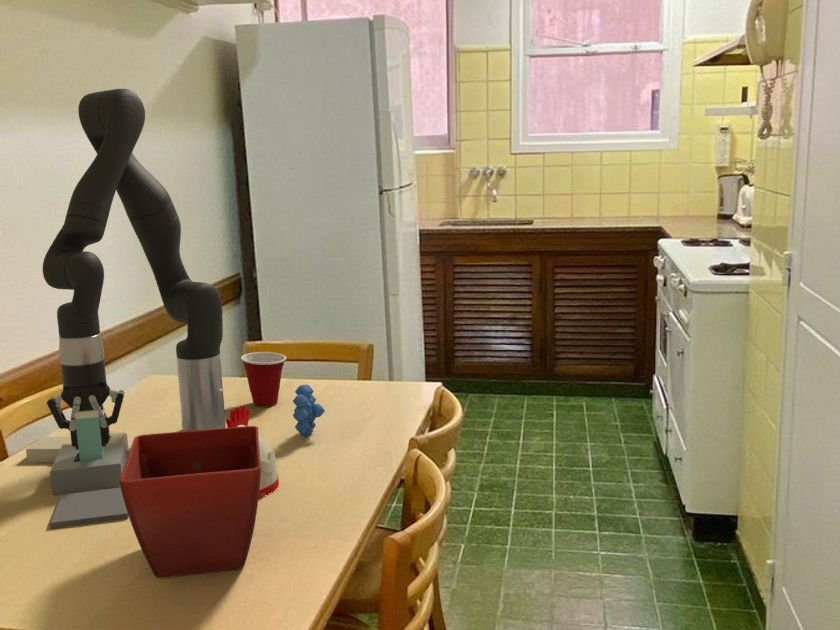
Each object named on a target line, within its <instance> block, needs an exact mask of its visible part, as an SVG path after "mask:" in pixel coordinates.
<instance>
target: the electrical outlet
mask: <svg viewBox="0 0 840 630" xmlns="http://www.w3.org/2000/svg"><path fill="white" fill-rule="evenodd" d="M109 433H110V440H109V443H107V444H113V443H122V442H126V452H127V451H128V450H129V442H128V441H129V439H128V433H126V432H109ZM65 448H74V447H73V446H72V443H71V436H43V437H41V438H39V439H38V440H37V441H36V442H34V443H33V444H31V445H30V446H29V447H26V449H25V453H26V461H27V463H54V462H55V460H56V457H57V455H58V453H59V451H60V449H65Z"/></svg>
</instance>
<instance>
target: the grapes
mask: <svg viewBox="0 0 840 630" xmlns="http://www.w3.org/2000/svg"><path fill="white" fill-rule="evenodd" d="M314 391H315V390H314V389H313V388H312V387H311V386H310V385H309V384H301V385H299V386H298V387H297V388H296V390H295V391H294V392H295V394H296V396H295V397H294V399H293V400H292V403H293V404H294V405H295V406H296V407H295V408H294V410H293V414H292V417H293V418H294V419H295V420H296V422H297V423H296V424H295V426H294V428H295V430H296V431H297V432H298V433H299V434H300V436H302V438H309V437H310V436H311V435H312V433H314V428H315V427H316V426H317V425H316V423H315V421H316V418H320V417H321V416H322V415H323V414H324V413H325V411H326V410H325V409H324V407H323V406H322V405H321V404H319V403H316V401H317V399H316V397H315V396H314V395H313V393H314Z"/></svg>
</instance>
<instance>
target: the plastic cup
mask: <svg viewBox="0 0 840 630" xmlns="http://www.w3.org/2000/svg"><path fill="white" fill-rule="evenodd" d="M240 359H241V361H242V363H243V366H244V371H245V372H246V373H245V374H246V377H247V384H248V387H249V391H250V395H251V399H252V403H253V405H254V406H255V407H259V408H260V407H262V408H263V407H264V408H265V407H266V408H267V407H270V406H271V407H272V406H275V405H277V404H278V402H279V401H278V400H279V392H280V389H281V388H280V387H281V381H282V379H281V378H282V372H283V371H282V370H283V367H284V365H285V362H286V361H287V356H286V355H284V354H281V353H277V352H270V351H257V352H256V351H255V352H250V353H245V354H243V355H241V358H240Z"/></svg>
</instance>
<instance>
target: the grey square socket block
mask: <svg viewBox="0 0 840 630" xmlns="http://www.w3.org/2000/svg"><path fill="white" fill-rule="evenodd" d="M104 448H105V452H104V455H103V458H102V459H99V460H89V461H80V458H79V449H76V447H74V448H65V449H60V451H59V453H58V455H57V457H56V460H55V462H53V464H52V466H51V469H50V470H49V474H50V482H51V490H52V496H53V495H62V494H70V493H79V492H88V491H96V490H105V489H113V488H121V487H120V482H119V478H120V476H121V473H122V471H123V468H124V466H125V463H126V460H127V458H128V455H127V453H128V452H127V451H126V442H122V443H113V444H106V446H104Z"/></svg>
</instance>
